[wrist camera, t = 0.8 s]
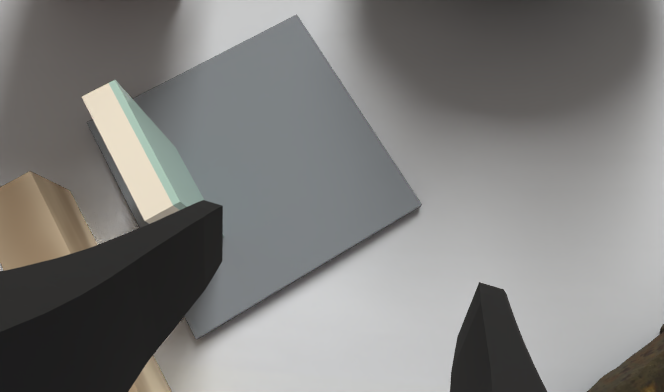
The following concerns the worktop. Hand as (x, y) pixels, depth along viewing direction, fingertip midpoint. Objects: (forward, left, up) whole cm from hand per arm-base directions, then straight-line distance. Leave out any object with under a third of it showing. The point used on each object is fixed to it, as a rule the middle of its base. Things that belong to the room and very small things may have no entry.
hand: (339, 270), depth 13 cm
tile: (-4, +9, -13) cm, 16 cm away
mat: (0, +9, -13) cm, 16 cm away
